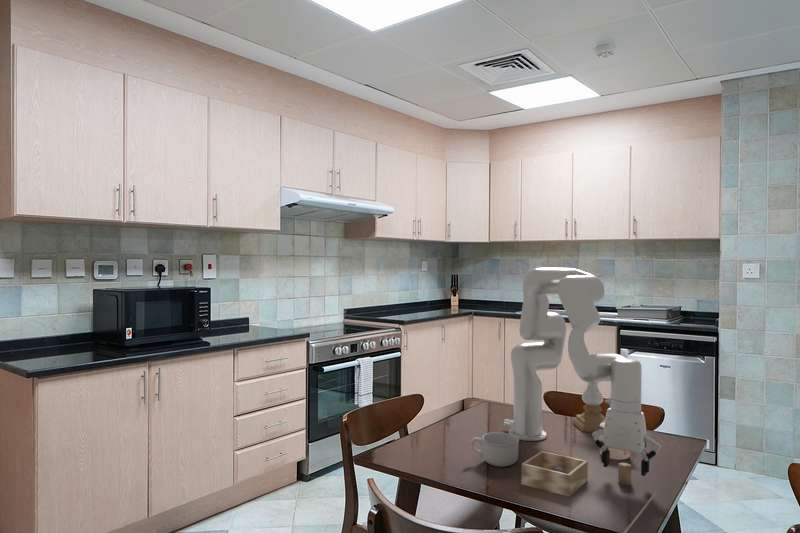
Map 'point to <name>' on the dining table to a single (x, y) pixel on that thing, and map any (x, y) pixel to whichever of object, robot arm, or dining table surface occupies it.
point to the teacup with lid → (614, 453)
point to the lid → (624, 474)
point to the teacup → (498, 448)
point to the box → (554, 473)
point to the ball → (559, 469)
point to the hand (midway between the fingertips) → (625, 470)
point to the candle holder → (590, 409)
